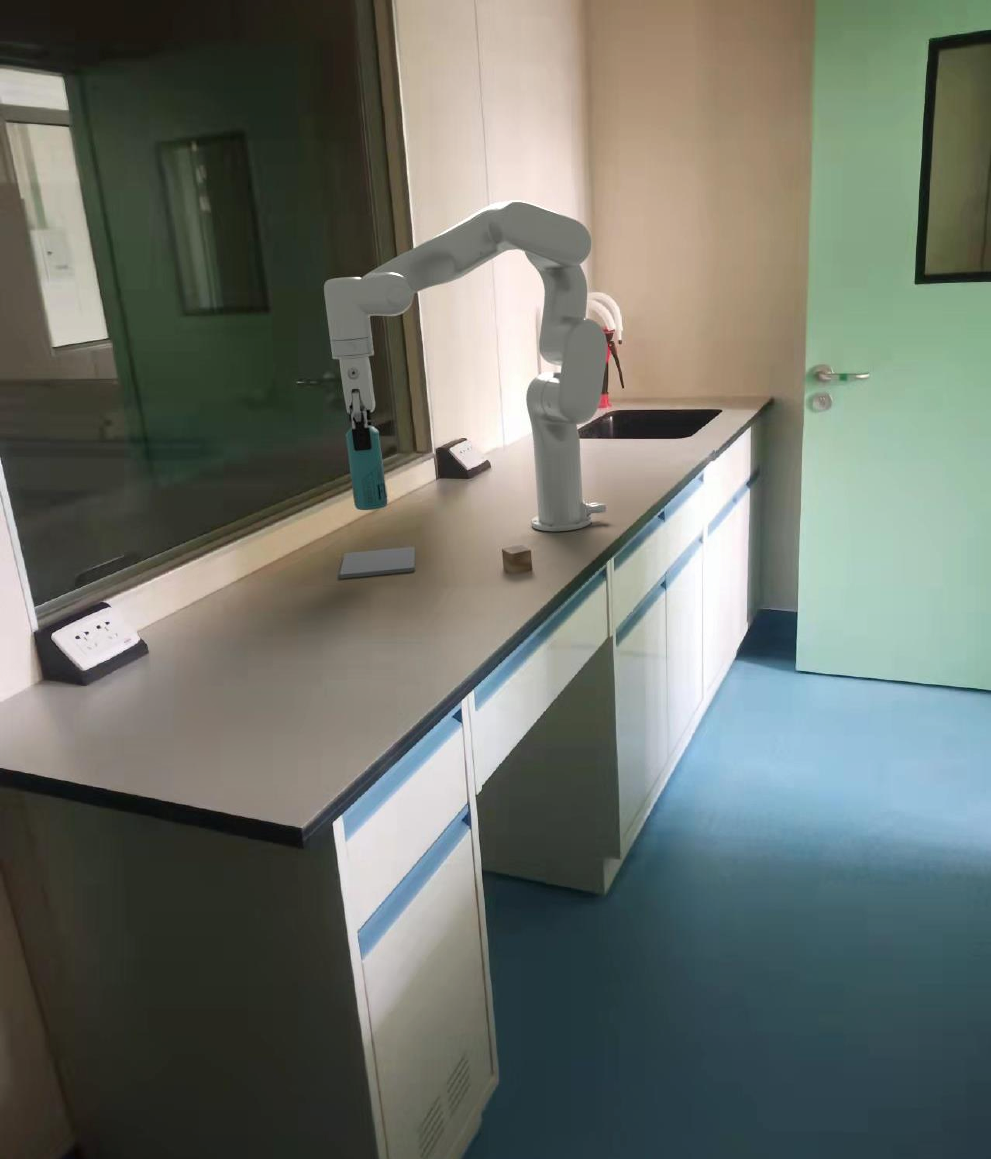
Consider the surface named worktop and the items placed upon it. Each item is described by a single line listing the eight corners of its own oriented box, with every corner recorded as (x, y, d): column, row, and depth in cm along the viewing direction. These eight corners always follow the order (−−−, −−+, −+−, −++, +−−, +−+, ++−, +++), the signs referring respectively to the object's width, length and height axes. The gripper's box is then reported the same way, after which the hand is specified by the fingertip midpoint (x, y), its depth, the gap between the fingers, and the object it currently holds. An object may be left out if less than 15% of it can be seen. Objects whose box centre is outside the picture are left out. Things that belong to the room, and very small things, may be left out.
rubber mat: (414, 550, 199) (414, 546, 198) (414, 571, 185) (414, 567, 185) (345, 557, 198) (344, 553, 198) (340, 578, 185) (339, 574, 184)
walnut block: (522, 565, 184) (521, 544, 183) (532, 570, 180) (530, 549, 179) (503, 569, 182) (501, 548, 181) (512, 574, 179) (511, 553, 178)
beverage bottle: (383, 517, 185) (371, 410, 178) (349, 518, 186) (336, 412, 180) (393, 508, 191) (382, 405, 184) (361, 509, 192) (348, 406, 186)
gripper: (371, 351, 171) (382, 453, 176) (375, 343, 187) (385, 436, 193) (327, 354, 170) (340, 457, 176) (335, 346, 187) (347, 440, 192)
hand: (364, 445), depth 184 cm, fingers closed on beverage bottle, 6 cm apart
